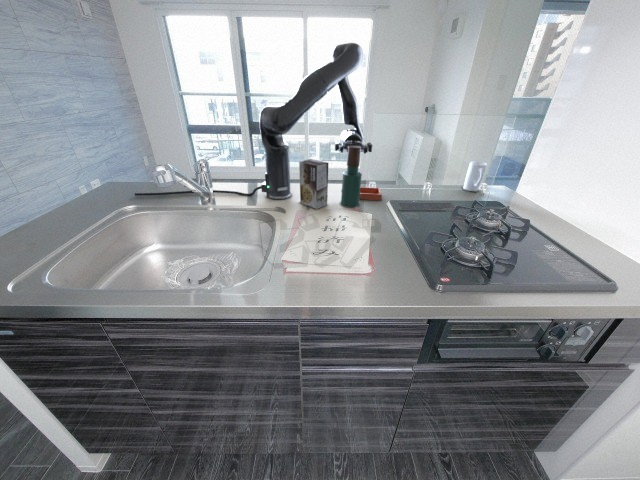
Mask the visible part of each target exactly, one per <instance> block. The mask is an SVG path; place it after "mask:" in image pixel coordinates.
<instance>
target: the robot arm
mask: <svg viewBox="0 0 640 480" xmlns="http://www.w3.org/2000/svg"><path fill="white" fill-rule="evenodd" d="M363 53H364V52H363V49H362V47H361V45H360V44H358V43H355V42H347V43H346V42H345V43H340V44H337V45H336V46H335V47H333V50H332V53H331V62H328V63H326V64H323V65H322V66H319V67H318V68H316V69H314V70H312V71H311V72H310V73H309V74H308V75H306V76H305V77H304V78H303V79H302V80H301V81H300V83H299V84H298V86H297V89H296V92H295V94H294V95H293V96H292V97H291V98H290V99H289V100H287V101H286V102H285V103H283V104H281V105H266V106H264V107H263V108H262V109H261V111H260V113H259V117H258V119H259V120H258V121H259V130H260V131H259V132H260V139H261V140H260V141H261V144H262V147H263V149H264V161H265V174H264V178H265V179H264V181H263V182H262V183H261V185H260V186H257V187H256V188H254V189H253V191H252V192H250V193H245V192H240V191H236V190H235V191H234V190H233V191H232V190H218V189H217V190H216V189H212V190H213V193H214V194H215V193H216V194H230V195H231V194H232V195H240V196H246V197H249V196H250V197H252V196H254V195H255V194H256V192H257V191H259V190H261V192H262V193H266V194H265V195H266V198H269V199H272V200H287V199H289V198H290V197H291V195H292V192H291V168H290V167H291V166H290V165H291V164H290V146H289V144H288V143H287V142H286V140H284V138H283V135H285V134H288V133H289V132H290V131H291V130H292V129H293V127H295V125H296V124H297V123H298V122H299V121H300V119H301V118H302V117H303V116H304V115H306V114H307V112H309V110H311V109H312V108H313V107H314V106H315V105H316V104H317V103H318V102H320V101H321V100H322V99H323V98H324V97H325V96H326V95H327V94H329V92H330V91H331V90H333V88H334V87H336V86H337V88H338V92H339V98H340V102H341V112H342V113H341V114H342V122H343V124H344V125H346V126H351V127H354V128H350V129H344V130H343V131H342V132H341V134H340V141H341V142H340V141H339V140H336V142H335V144H334V151H339V152H340V153H343V152H346V153H348V146H353V145H354V146H360V147H361V153H363V154H367V153H368V152H369V153H372V152H373V144H372V143H371V142H367V143H366V144H365V142H363V141H364V133H363V130H362V127H361V124H360V118H359V105H358V101H357V98H356V95H355V94H354V91H353V89H352V87H351V85H350V82H349V78H348V76H349V75H350V74H352V73H353V72H355V71H356V70H357V69H358V68H359V67H360V65H361V63H362V61H363V56H364V54H363ZM192 191H193V190H180V191H166V192H165V191H164V192H163V191H162V192H134V196H136V197H137V196H138V197H139V196H140V197H141V196H143V197H144V196H167V195H183V194H184V195H185V194H195V193H194V192H192ZM213 193H212V194H213Z"/></svg>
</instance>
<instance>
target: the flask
mask: <svg viewBox="0 0 640 480" xmlns="http://www.w3.org/2000/svg"><path fill="white" fill-rule="evenodd" d="M346 167H347V168H346V171H344V172H342V185H341V200H340V205H341V206H342V207H344V208H345V207H346V208H357V207H358V206H359V203H360V199H359V196H360V187H362V186H361V185H362V177H363V175H362V173H361V172H360V171H359V167H360V165H359V166H358V167H350V166H347V165H346Z"/></svg>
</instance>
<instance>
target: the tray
mask: <svg viewBox="0 0 640 480" xmlns="http://www.w3.org/2000/svg"><path fill="white" fill-rule="evenodd" d="M359 200H365V201H366V200H367V201H369V200H370V201H381V200H382V192H381V188H380V187H367V186H366V187H365V186H360V196H359Z"/></svg>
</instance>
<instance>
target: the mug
mask: <svg viewBox="0 0 640 480" xmlns="http://www.w3.org/2000/svg"><path fill="white" fill-rule="evenodd" d="M487 167H488V163H487V162H483V161H477V160H476V161H473V160H472V161H470V163H469V166H468V169H467V172H466V176H465V180H464V184H463V187H462V188H463V190H465V191H468V192H478V191H479V189H480V186H481V184H482V181H483V178H484V175H485V173H486V169H487Z"/></svg>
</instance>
